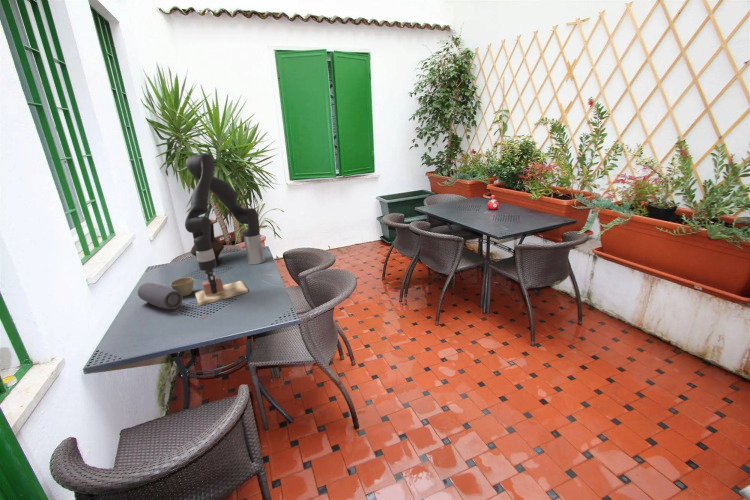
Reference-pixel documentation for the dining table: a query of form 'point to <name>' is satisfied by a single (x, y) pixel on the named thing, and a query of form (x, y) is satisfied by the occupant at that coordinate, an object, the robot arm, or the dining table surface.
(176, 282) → the flower pot
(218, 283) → the block
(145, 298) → the bluetooth speaker
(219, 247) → the jug
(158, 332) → the dining table surface
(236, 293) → the board
